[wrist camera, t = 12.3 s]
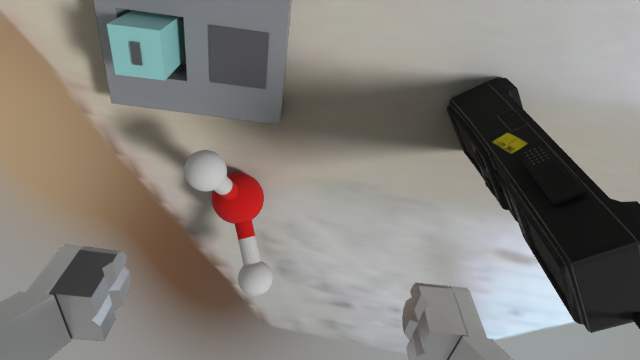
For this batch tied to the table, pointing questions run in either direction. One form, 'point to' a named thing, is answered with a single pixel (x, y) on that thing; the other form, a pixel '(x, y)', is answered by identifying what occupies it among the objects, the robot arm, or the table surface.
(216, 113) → the outlet plate
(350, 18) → the table surface
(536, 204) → the portable radio
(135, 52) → the block
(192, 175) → the molecular model
